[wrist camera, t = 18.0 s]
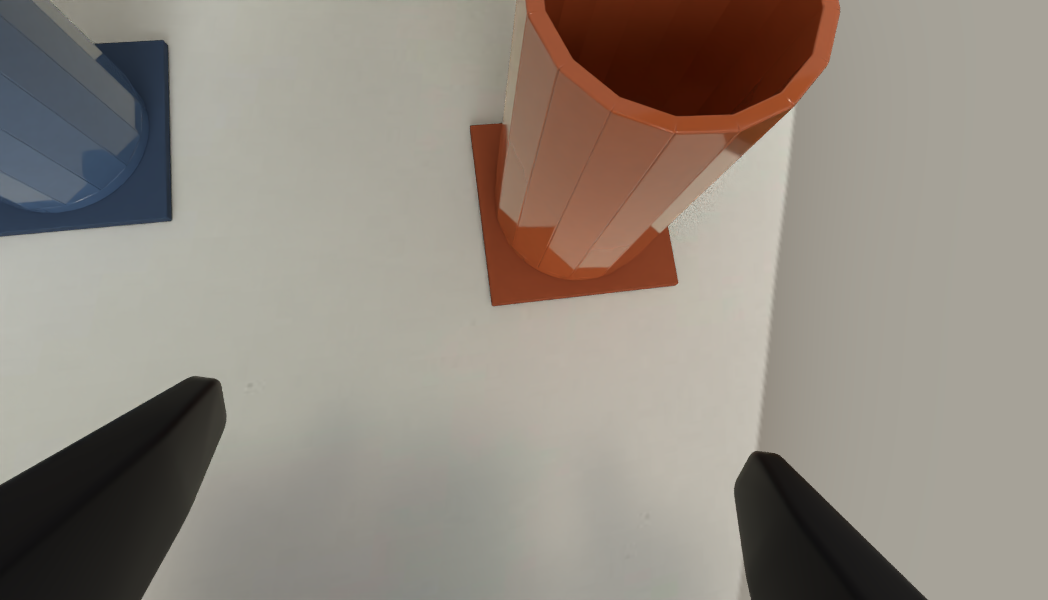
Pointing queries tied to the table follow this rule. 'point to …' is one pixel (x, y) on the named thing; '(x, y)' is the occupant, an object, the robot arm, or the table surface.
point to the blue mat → (151, 180)
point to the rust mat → (528, 284)
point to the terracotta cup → (639, 115)
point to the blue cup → (62, 113)
